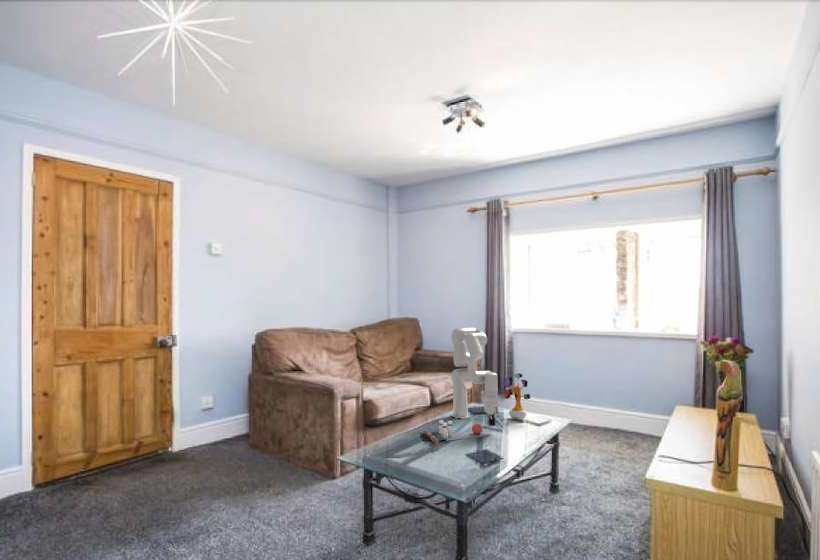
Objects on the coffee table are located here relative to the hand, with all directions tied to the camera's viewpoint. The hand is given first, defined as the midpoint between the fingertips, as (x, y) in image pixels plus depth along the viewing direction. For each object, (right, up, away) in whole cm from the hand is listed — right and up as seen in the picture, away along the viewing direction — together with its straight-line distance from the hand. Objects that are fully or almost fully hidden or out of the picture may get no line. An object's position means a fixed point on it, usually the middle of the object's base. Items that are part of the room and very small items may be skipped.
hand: (492, 425), depth 258 cm
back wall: (-37, -4, -11) cm, 38 cm away
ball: (-9, -2, -2) cm, 10 cm away
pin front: (-26, -4, -7) cm, 27 cm away
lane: (-20, -4, -6) cm, 21 cm away
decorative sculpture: (+21, -6, +28) cm, 35 cm away
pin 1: (-30, -5, -6) cm, 31 cm away
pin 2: (-29, -4, -11) cm, 31 cm away
